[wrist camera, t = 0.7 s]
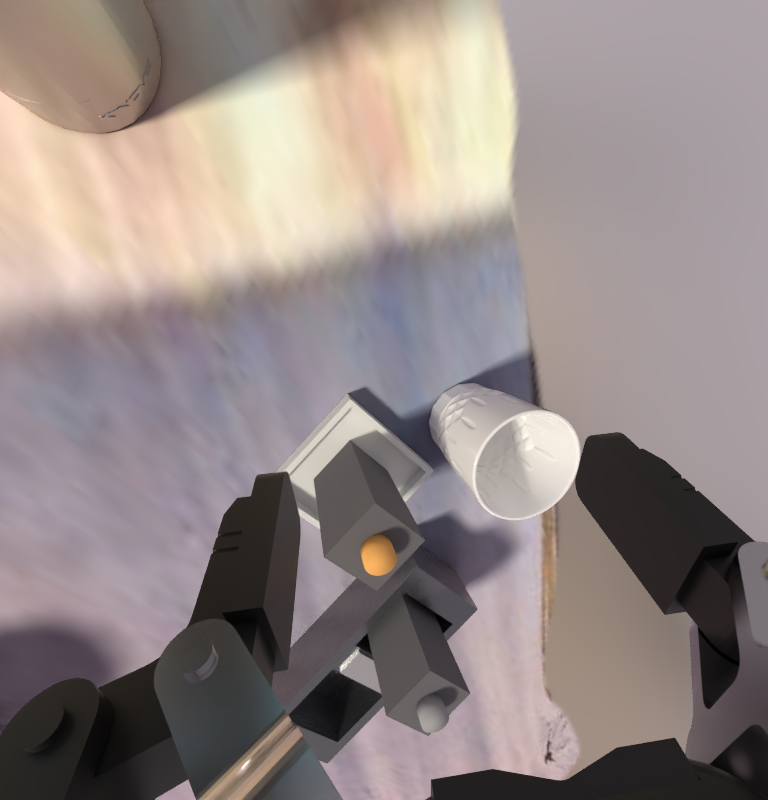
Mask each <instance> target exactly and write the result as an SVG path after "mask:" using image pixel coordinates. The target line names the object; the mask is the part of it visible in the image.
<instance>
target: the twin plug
mask: <svg viewBox="0 0 768 800" xmlns="http://www.w3.org/2000/svg"><path fill="white" fill-rule="evenodd" d="M367 634H368V638H369V643H370V647H371V651H372V656H373V660H374V664H375V669H376V673H377V677H378V682H379V686H380V690H381V695H382V699H383V703H384V708H385V712H386V716H388V717H390V718H392V719H394V720H396V721H398V722H400V723H403V724H405V725H407V726H409V727H411V728H413V729H415V730H417V731H419V732H421V733H423V734H426V735H428V736H429V735H430V734H431V733H434V732H437V731H439V730H441V729H442V728H444V727H445V726H446V724H447V723H448V720H449V715H450V714H451V713H452V711H453V710H454V709H455V708H456V707H457V706H458V705H459V704H460V703H461V702H462V701H463V700H464V699H465V698H466V697H467V696H468V695H469V694H470V692H469V690H468V688H467V685H466V683H465V681H464V679H463V676H462V674H461V672H460V670H459V668H458V665H457V663H456V661H455V659H454V656H453V654H452V652H451V650H450V648H449V645H448V643H447V641H446V639H445V636H444V634H443V632H442V630H441V627H440V625H439V623H438V621H437V619H436V616H435V614H434V612H433V611H432V610H431V609H429V608H428V607H426V606H425V605H423V604H422V603H420V602H419V601H417V600H416V599H414V598H413V597H411V596H410V595H408V594H407V593H405V594H404V595H403V596H402V597H401V598H400V599H399V601H398V602H397V603H396V604H395V605H394V606H393V607H392V608H391V609H390V610H389V611H388V612H387V613H386V614H385V615H384V616H383V617H382V618H381V619H380V620H379V621H378V622H377V623H376V624H375V626H374V627H373V628H372V629H371V630H370V631H369V632H368V633H367Z"/></svg>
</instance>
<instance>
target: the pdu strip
mask: <svg viewBox="0 0 768 800" xmlns="http://www.w3.org/2000/svg"><path fill="white" fill-rule="evenodd" d="M405 593H407V594H408V595H410V596H411V597H413V598H414V599H416V600H417V601H419V602H420V603H422V604H423V605H425V606H426V607H428V608H429V609H431V610H432V611H433V612H434V614H435V616H436V619H437V621H438V623H439V625H440V627H441V630H442V632H443V634H444V636H445V639H446V641H447V640H448V639H449V638H450V637H451V636H452V635H453V634H454V633H455V632H456V631H457V630H458V629H459V628H460V627H461V626H462V625H463V624H464V623H465V622H466V621H467V620H468V619H469V618H470V617H471V616H472V615H473V614H474V613H475V612H476V611H477V607H476V605H475V604H474V602H473V600H472V599H471V597H470V595H469V594H468V592H467V590H466V588H465V587H464V585H463V583H462V582H461V580H460V578H459V577H458V575H457V573H456V571H455V570H453V569H452V568H451V567H449V566H448V565H447V564H445V563H444V562H442V561H441V560H440V559H438V558H437V557H436V556H434V555H433V554H432V553H430V552H429V551H428V550H426V549H425V548H423V547H422V546H421V545H420V546H419V547H418V549H417V550H416V551H415V552H414V553H413V554H412V555H411V556H410V557H409V558H408V559H407V560H406V561H405V562H404V563H403V564H402V565H401V566H400V567H399V568H398V569H397V570H396V572H395V573H394V574H393V575H392V576H391V577H390V578H389V579H388V580H387V581H386V582H385V583H384V584H383V585H382V586H381V587H380V588H379V589H378V590H375V589H373V588H372V587H370V586H369V585H367V584H366V583H364V582H362V581H361V580H359V579H358V578H357V579H356V580H355V581H354V582H353V583H352V584H351V585H350V586H349V587H348V588H347V589H346V590H345V591H344V592H343V593H342V594H341V596H340V597H339V598H338V599H337V600H336V601H335V602H334V603H333V604H332V605H331V606H330V607H329V608H328V609H327V610H326V611H325V612H324V613H323V614H322V616H321V617H320V618H319V619H318V620H317V621H316V622H315V623H314V624H313V625H312V626H311V627H310V628H309V629H308V630H307V631H306V632H305V633H304V634H303V636H302V637H301V638H300V639H299V640H298V641H297V642H296V643H295V644H294V645H293V646H292V647H291V648H290V655H289V666H288V670H285V671H278V672H273V680H272V690H273V691H274V693H275V695H276V696H277V698H278V700H279V701H280V703H281V705H282V706H283V708H284V709H285V711H286V713H287V714H288V716H289V717H290V719H291V720H292V722H293V723H295V725H296V726H297V727H298V729H299V730H300V732H301V733H302V735H303V736H304V738H305V739H306V741H307V742H308V744H309V746H310V747H311V749H312V751H313V752H314V754H315V755H316V757H317V759H318V760H320V761H322V762H325V763H328V762H329V761H330V760H331V759H332V758H333V757H334V756H335V755H336V754H337V753H338V752H339V751H340V750H341V749H342V748H343V747H344V746H345V745H346V744H347V743H348V742H349V741H350V740H351V739H352V738H353V737H354V736H355V735H356V734H357V733H358V732H359V730H360V729H361V728H362V727H363V726H364V725H365V724H366V723H367V722H368V721H369V720H370V719H371V718H372V717H373V716H374V715H375V714H376V713H377V712H378V711H379V710H380V709H381V708H382V707H383V706H384V703H383V699H382V695H381V690H380V686H379V682H378V677H377V673H376V669H375V664H374V660H373V656H372V651H371V647H370V643H369V638H368V634H367V633H368V632H369V631H370V630H371V629H372V628H373V627H374V626H375V624H376V623H377V622H378V621H379V620H380V619H381V618H382V617H383V616H384V615H385V614H386V613H387V612H388V611H389V610H390V609H391V608H392V607H393V606H394V605H395V604H396V603H397V602H398V601H399V599H400V598H401V597H402V596H403V595H404V594H405Z"/></svg>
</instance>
